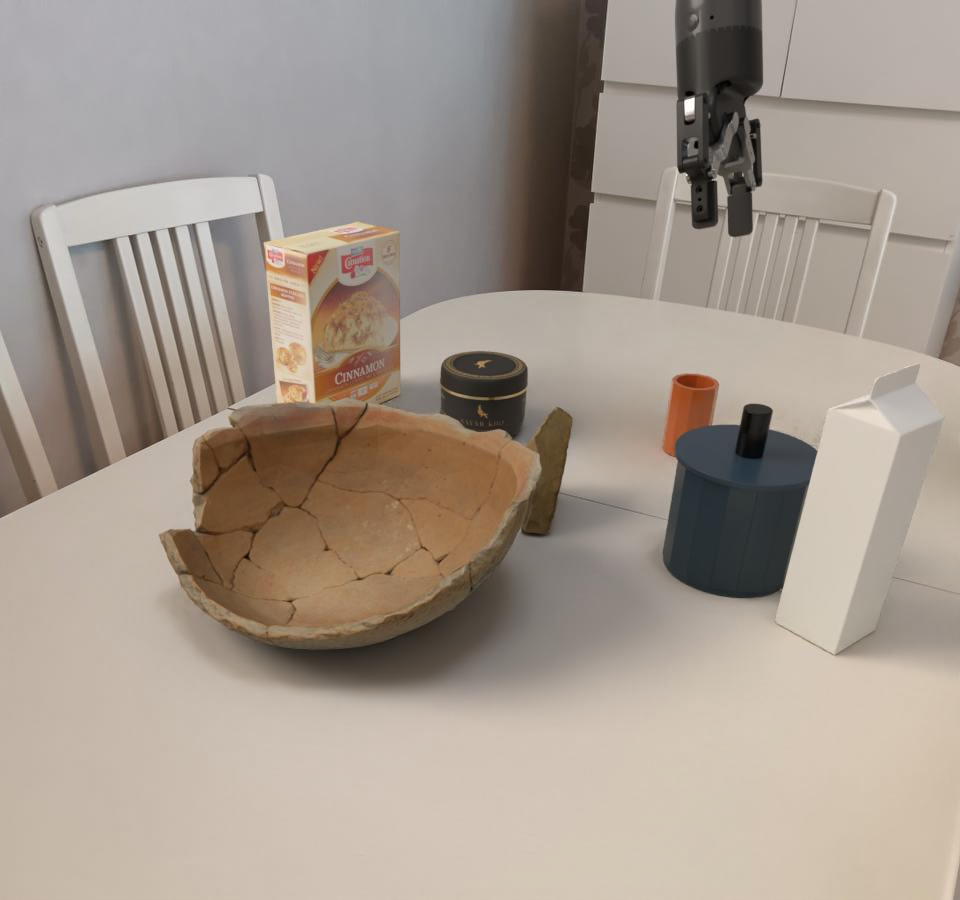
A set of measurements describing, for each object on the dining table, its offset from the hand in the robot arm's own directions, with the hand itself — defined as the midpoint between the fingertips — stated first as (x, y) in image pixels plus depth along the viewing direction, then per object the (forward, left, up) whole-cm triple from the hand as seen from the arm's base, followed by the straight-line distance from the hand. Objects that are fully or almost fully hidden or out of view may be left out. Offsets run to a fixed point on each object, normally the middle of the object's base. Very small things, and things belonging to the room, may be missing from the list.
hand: (723, 232), depth 90 cm
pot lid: (+8, +16, -14) cm, 23 cm away
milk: (+8, +28, -25) cm, 39 cm away
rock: (+19, -1, -25) cm, 32 cm away
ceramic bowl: (+40, +5, -25) cm, 48 cm away
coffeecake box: (+25, -34, -25) cm, 49 cm away
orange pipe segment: (-5, -6, -25) cm, 26 cm away
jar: (+13, -21, -25) cm, 35 cm away
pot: (+8, +16, -25) cm, 31 cm away
